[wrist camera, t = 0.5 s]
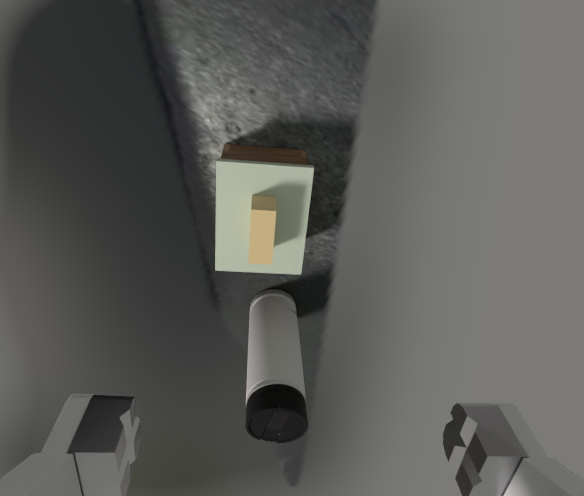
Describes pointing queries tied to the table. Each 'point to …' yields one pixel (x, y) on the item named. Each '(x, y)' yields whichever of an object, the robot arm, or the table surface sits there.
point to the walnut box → (264, 154)
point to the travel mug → (275, 370)
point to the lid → (261, 216)
